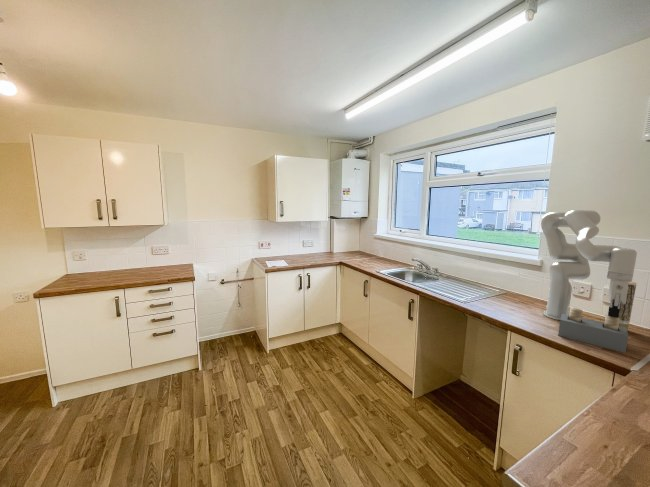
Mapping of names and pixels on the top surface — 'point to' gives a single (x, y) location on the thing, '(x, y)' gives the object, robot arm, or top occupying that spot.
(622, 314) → the bark textured peg
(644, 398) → the top surface
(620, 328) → the block
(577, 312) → the peg inner
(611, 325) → the peg outer
